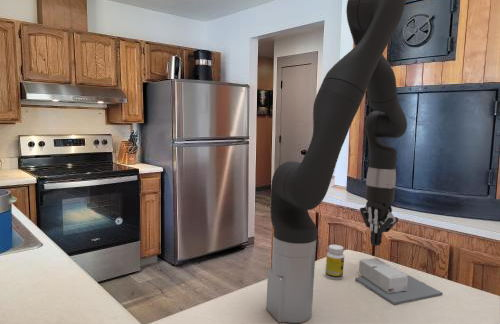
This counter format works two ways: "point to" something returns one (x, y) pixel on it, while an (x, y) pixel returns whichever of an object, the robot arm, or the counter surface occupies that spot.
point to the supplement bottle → (335, 262)
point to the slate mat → (413, 293)
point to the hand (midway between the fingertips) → (375, 244)
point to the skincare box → (383, 275)
